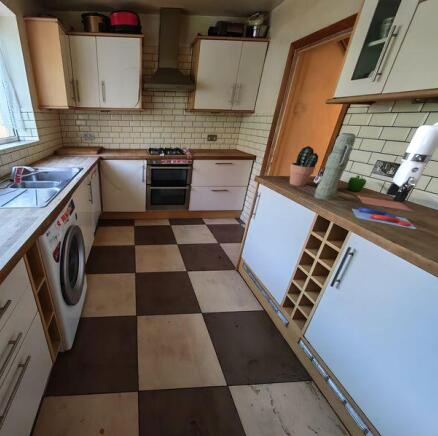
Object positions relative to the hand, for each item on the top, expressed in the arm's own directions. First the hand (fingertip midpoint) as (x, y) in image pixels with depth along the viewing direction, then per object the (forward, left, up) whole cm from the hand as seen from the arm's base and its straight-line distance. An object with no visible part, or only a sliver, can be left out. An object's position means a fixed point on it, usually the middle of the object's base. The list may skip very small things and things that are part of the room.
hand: (394, 198), depth 99 cm
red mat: (-7, -31, -11) cm, 34 cm away
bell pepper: (+3, -52, -12) cm, 53 cm away
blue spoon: (+1, -7, -11) cm, 13 cm away
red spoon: (-2, 0, -11) cm, 11 cm away
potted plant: (+34, -46, -12) cm, 58 cm away
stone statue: (+21, -22, -12) cm, 32 cm away
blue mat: (0, -4, -11) cm, 12 cm away
